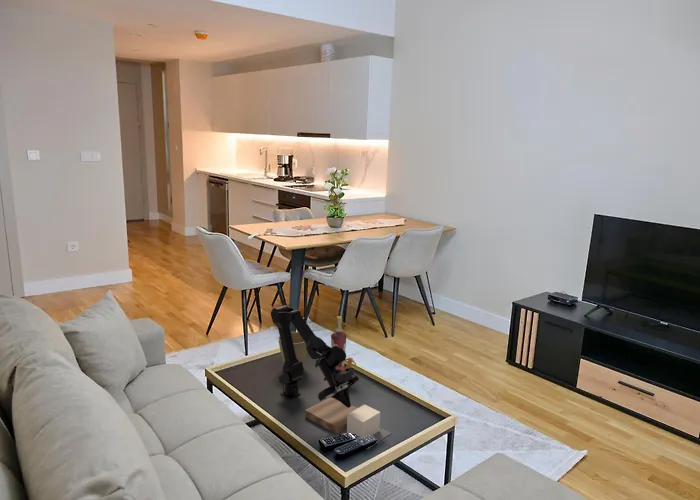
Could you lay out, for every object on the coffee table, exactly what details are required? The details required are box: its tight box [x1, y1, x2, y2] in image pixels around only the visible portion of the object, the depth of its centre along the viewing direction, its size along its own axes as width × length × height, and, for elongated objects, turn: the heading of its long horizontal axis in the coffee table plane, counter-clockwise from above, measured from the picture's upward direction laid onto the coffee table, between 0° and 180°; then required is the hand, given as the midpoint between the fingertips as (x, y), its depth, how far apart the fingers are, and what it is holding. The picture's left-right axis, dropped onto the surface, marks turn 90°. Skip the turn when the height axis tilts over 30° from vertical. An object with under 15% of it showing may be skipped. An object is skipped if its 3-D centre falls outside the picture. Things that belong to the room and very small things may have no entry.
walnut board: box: [304, 396, 358, 435], centre depth 205 cm, size 18×16×3 cm
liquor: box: [330, 315, 347, 372], centre depth 241 cm, size 7×7×28 cm
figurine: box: [341, 357, 357, 371], centre depth 234 cm, size 8×6×12 cm
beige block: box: [347, 404, 381, 438], centre depth 195 cm, size 8×10×8 cm
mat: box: [339, 427, 392, 450], centre depth 195 cm, size 14×14×1 cm
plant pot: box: [278, 331, 308, 364], centre depth 246 cm, size 15×15×16 cm
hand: (349, 407), depth 199 cm, fingers closed
